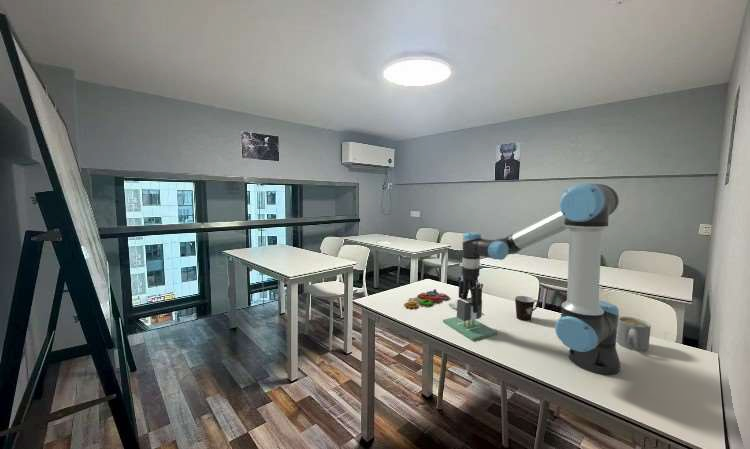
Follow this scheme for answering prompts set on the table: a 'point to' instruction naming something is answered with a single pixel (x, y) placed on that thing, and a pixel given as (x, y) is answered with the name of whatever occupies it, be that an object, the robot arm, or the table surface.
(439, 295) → the gear puzzle
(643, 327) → the coffee mug
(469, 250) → the robot arm
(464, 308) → the plug
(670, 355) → the table surface
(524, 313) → the coffee mug
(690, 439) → the table surface
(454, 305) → the gun
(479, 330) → the board
